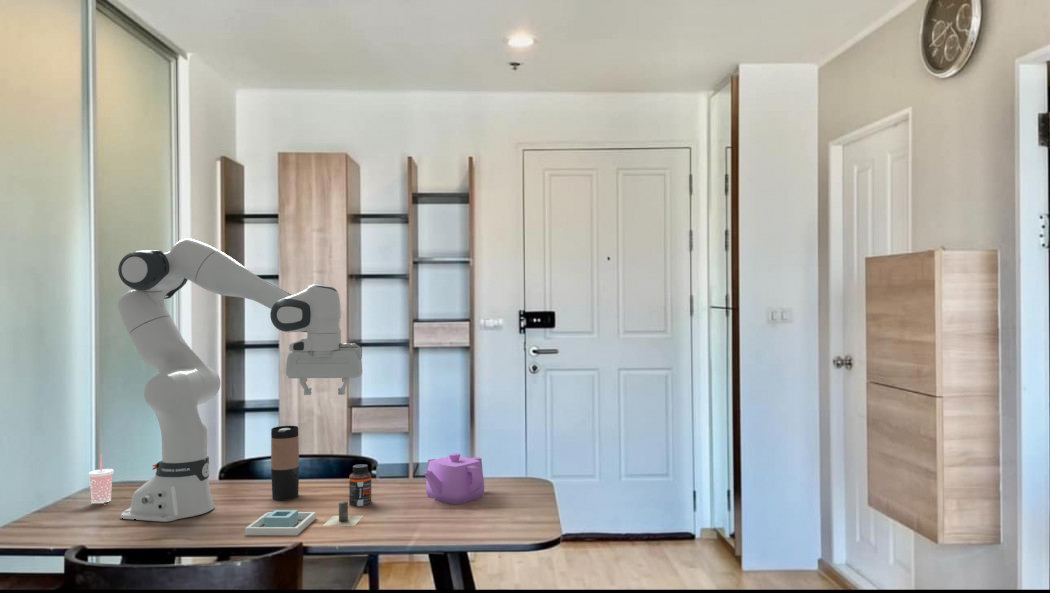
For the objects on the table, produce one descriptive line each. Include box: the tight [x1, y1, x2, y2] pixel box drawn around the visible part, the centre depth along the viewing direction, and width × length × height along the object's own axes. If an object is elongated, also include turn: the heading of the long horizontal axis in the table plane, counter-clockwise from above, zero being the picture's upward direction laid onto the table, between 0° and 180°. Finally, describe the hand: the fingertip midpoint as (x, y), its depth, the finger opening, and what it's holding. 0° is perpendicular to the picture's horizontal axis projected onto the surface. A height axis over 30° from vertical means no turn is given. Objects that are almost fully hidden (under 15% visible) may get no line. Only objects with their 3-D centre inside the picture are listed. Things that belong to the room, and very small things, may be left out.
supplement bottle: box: [348, 463, 372, 508], centre depth 186 cm, size 6×6×11 cm
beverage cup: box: [88, 453, 115, 504], centre depth 193 cm, size 6×6×14 cm
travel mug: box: [270, 425, 300, 501], centre depth 197 cm, size 8×8×20 cm
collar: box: [263, 509, 299, 527], centre depth 167 cm, size 6×7×4 cm
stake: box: [322, 500, 364, 527], centre depth 171 cm, size 8×8×6 cm
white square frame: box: [244, 511, 317, 536], centre depth 167 cm, size 13×13×3 cm
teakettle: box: [423, 452, 485, 506], centre depth 195 cm, size 17×17×12 cm
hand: (324, 394), depth 184 cm, fingers open, 8 cm apart
